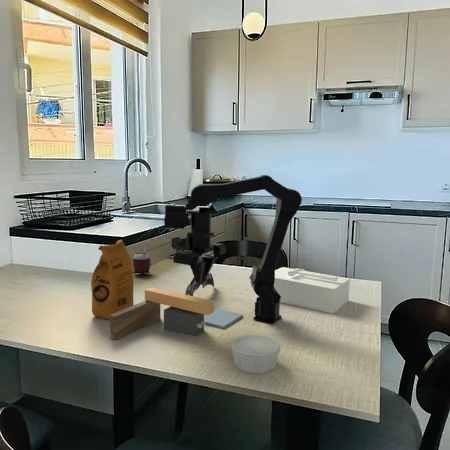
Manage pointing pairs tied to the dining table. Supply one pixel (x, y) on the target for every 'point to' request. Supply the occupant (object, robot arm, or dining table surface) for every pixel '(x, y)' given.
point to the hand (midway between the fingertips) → (200, 281)
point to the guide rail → (133, 318)
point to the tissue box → (311, 289)
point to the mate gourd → (141, 262)
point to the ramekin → (255, 353)
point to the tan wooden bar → (180, 301)
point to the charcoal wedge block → (183, 321)
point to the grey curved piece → (194, 286)
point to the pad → (221, 318)
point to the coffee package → (112, 281)
